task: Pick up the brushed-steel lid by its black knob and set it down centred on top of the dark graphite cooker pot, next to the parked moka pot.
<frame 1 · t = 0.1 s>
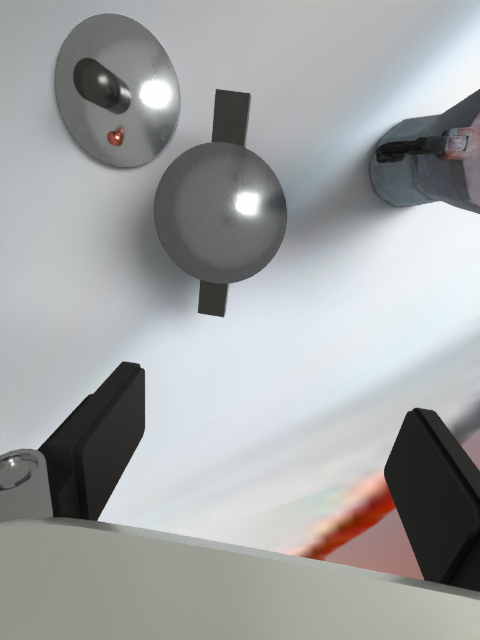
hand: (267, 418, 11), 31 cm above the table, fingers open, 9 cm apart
moka pot: (405, 167, 35), on the table
lid: (121, 99, 35), on the table
cooker pot: (231, 213, 38), on the table
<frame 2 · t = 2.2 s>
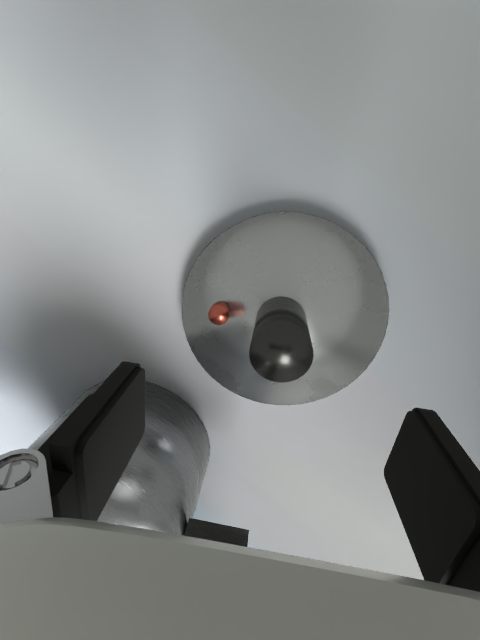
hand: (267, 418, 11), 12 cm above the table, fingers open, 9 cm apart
lid: (280, 314, 22), on the table
cooker pot: (139, 441, 28), on the table
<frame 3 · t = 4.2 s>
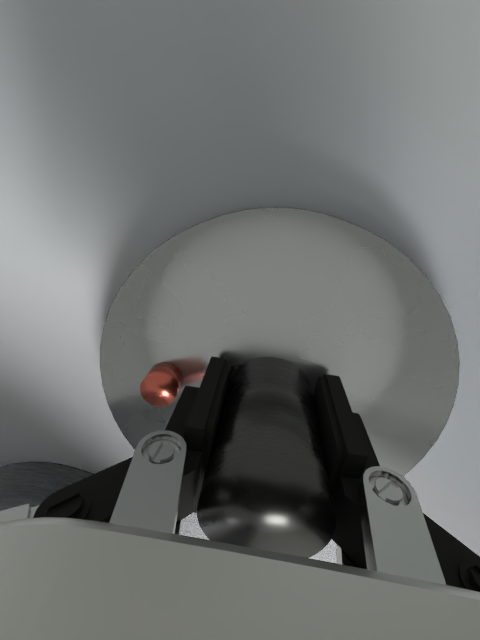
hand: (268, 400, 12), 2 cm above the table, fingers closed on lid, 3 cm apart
lid: (268, 377, 13), on the table, touching gripper
cooker pot: (70, 540, 19), on the table
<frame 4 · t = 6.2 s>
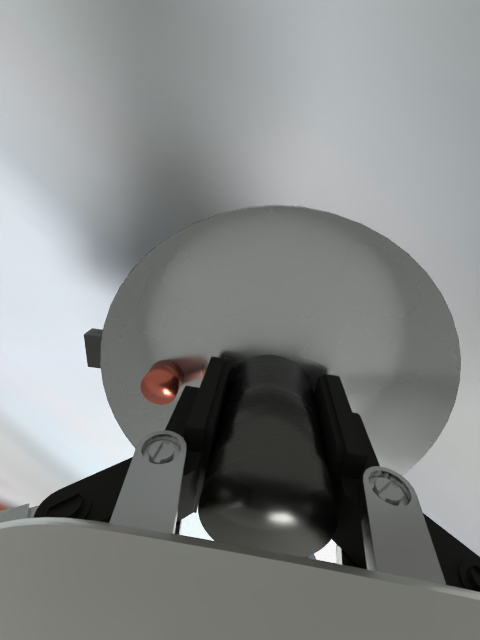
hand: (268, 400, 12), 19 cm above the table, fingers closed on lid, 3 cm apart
lid: (269, 376, 13), point 18 cm above the table, touching gripper
cooker pot: (226, 326, 32), on the table
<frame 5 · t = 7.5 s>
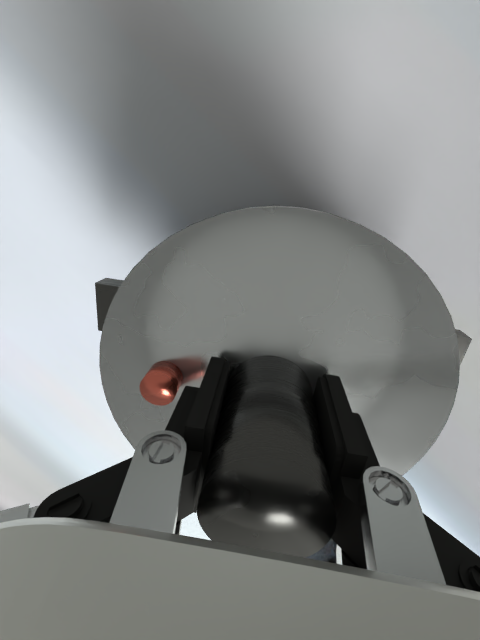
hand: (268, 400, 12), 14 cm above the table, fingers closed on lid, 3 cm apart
moka pot: (316, 474, 32), on the table
lid: (268, 376, 13), point 13 cm above the table, touching gripper
cooker pot: (273, 292, 25), on the table
when the fingers open (12 cm above the table, at t = 8.5 s): lid drops 1 cm, resting on cooker pot.
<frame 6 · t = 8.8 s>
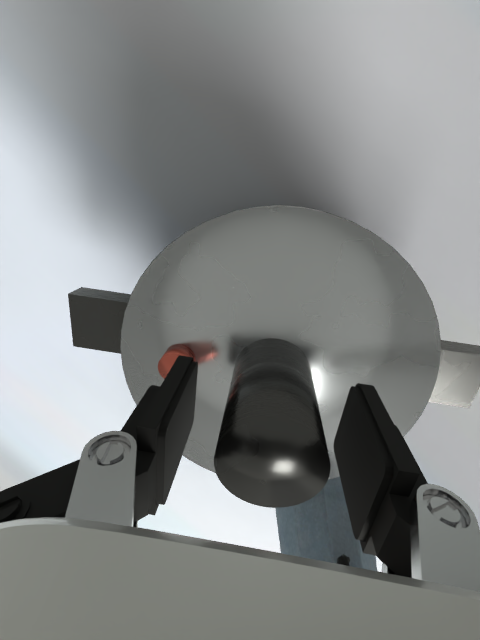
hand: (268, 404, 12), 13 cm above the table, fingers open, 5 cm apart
moka pot: (316, 491, 30), on the table
lid: (272, 359, 15), point 9 cm above the table, touching cooker pot
cooker pot: (270, 300, 23), on the table
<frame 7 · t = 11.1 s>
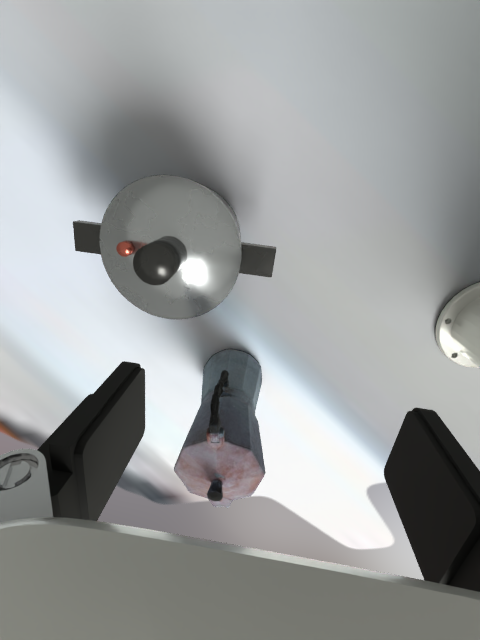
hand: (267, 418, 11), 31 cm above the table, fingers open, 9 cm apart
moka pot: (231, 370, 47), on the table
lid: (173, 251, 31), point 9 cm above the table, touching cooker pot
cooker pot: (190, 238, 40), on the table
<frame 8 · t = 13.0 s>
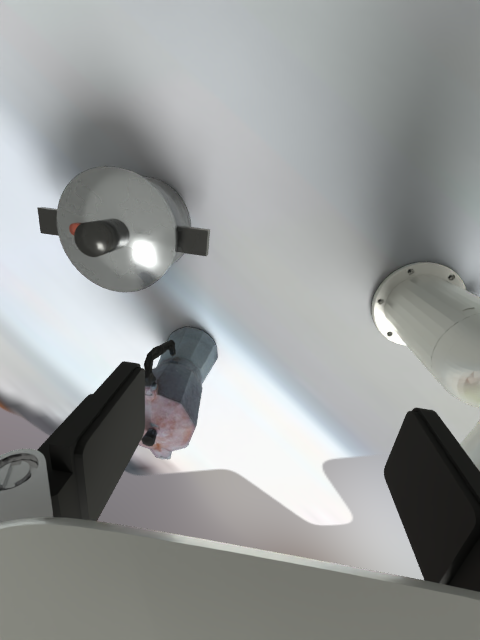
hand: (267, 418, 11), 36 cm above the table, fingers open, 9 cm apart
moka pot: (191, 347, 52), on the table
lid: (120, 232, 37), point 9 cm above the table, touching cooker pot
cooker pot: (147, 225, 45), on the table
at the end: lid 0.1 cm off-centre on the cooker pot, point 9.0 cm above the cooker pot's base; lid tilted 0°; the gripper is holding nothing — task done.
